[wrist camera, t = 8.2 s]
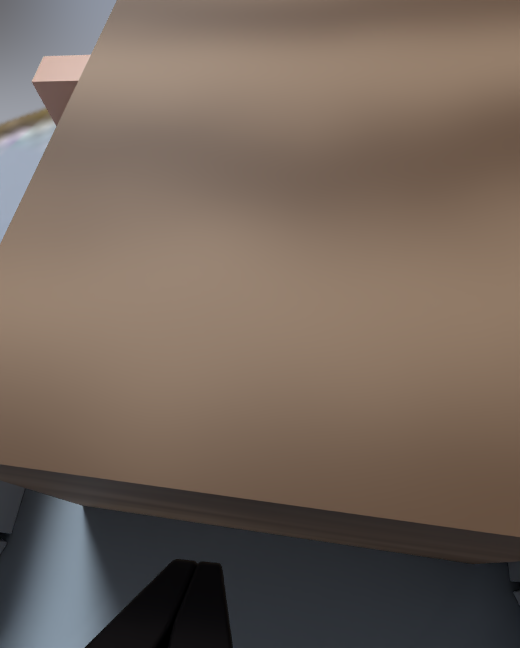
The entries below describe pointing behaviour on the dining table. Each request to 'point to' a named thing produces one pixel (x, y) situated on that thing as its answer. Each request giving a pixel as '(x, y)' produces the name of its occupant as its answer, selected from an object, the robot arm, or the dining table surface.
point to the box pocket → (55, 91)
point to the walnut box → (279, 275)
